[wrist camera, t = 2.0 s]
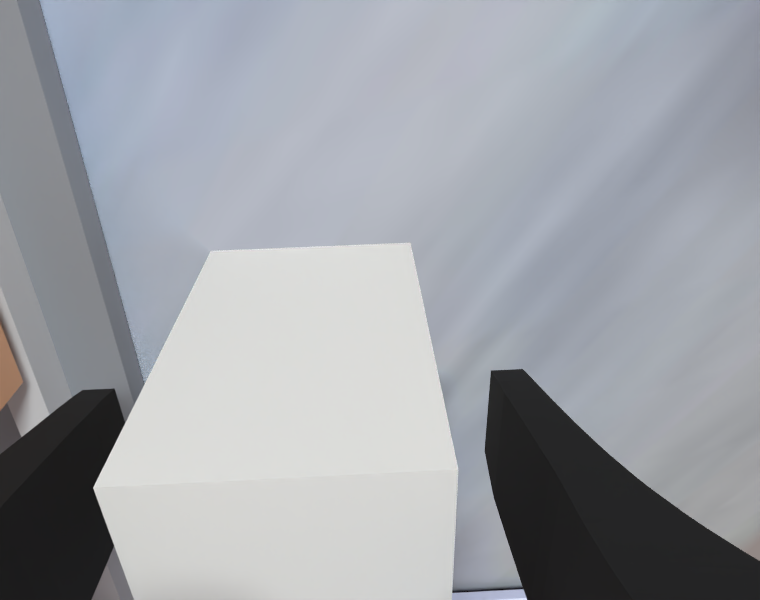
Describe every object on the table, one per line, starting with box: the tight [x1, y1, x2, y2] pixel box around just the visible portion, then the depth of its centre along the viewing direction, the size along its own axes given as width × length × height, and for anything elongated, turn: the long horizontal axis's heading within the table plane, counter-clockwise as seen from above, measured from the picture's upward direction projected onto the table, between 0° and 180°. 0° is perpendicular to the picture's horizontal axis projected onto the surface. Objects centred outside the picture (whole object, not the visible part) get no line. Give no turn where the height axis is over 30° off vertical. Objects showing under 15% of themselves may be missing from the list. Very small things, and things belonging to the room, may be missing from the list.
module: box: [93, 243, 458, 600], centre depth 12 cm, size 4×4×7 cm
